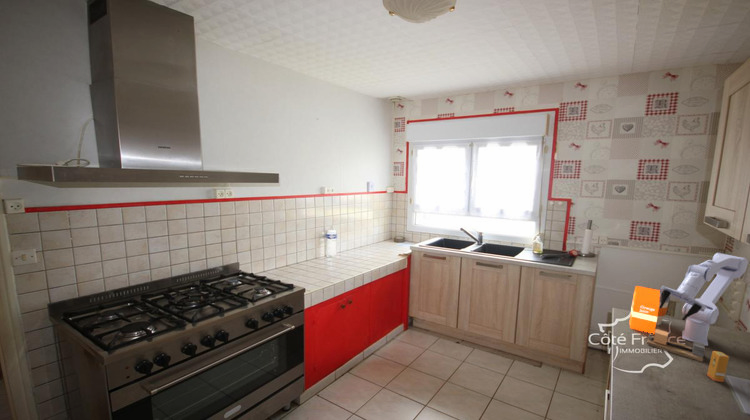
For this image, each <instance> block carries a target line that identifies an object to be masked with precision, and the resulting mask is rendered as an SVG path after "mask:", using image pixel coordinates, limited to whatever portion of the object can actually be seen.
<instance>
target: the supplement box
mask: <svg viewBox="0 0 750 420" xmlns="http://www.w3.org/2000/svg"><path fill="white" fill-rule="evenodd" d="M729 359H730V356H728V355H727V354H725V353H724V352H722V351H717V350H712V353H711V357H710V361H709V365H708V369H707V373H706V376H707V377H708V378H710V380H712V381H713V382H717V383H718V382H719V383H724V381H725V376H726V373H727V369H728V368H727V367H728V364H729Z"/></svg>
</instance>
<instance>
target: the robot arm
mask: <svg viewBox="0 0 750 420" xmlns="http://www.w3.org/2000/svg"><path fill="white" fill-rule="evenodd" d="M748 265H749V260H748V259H747V257H741V256H735V255H731V254H727V253H722V252H716V253H715V254H714V255H713V256H712V259H708V260H705V261H704V262H701V263H699V264H690V265H689V266H688V268H687V271H686V273H685V275H684V279H683V281H682V282H681V283H680V285H679V286H678V287H677V289H674V288H672V287H671V288H670V287H668V286H665V285H662V286H661V287H660V289H659V290H660V291H662V294H661V304H660V307H659V308H662V306H663V305H664V303H665V301H666V300H667V298H668V297H669V295H670V297H674V298H676V299H677V300H678V301H681V302H682V303H684V304H683V307H682V309H681V311H682V315H683V317H682V318H681V320H682V321H685V325H684V330H682V331H681V332H682V333H681V338H682V340H685V341H689V342H692V343H694V341H698V342H701V343H704V345H705V346H706V347H708V346H709V342H708V335H709V329H710V325H713V324H715V323H716V322H717V319H718V316H720V312H719V308H718V307H717V306H716V304H717V302H718V301H719V299H720V298H721V297H722V295H723V294H724V293H725V291H726V290H727V288H728V287H729V285H731V283H732V282H733V281H734V279H735V280H736V279H740V278H741V277H742V276H743V274H745V272H746V270H747V269H748ZM714 275H716V276H715V278H714V279H713V280H712V278H713V277H714ZM711 280H712V282H711V283H710V284H709V285H708V287H707V288H706V290H705V291H704V292H703V294H702V295H701V296H700V297H699V298H695V297H696V296H697V295H698V293H699V291H700V290H701V289H702V287H703V286H704V284H705V283H706V282H710V281H711Z"/></svg>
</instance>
